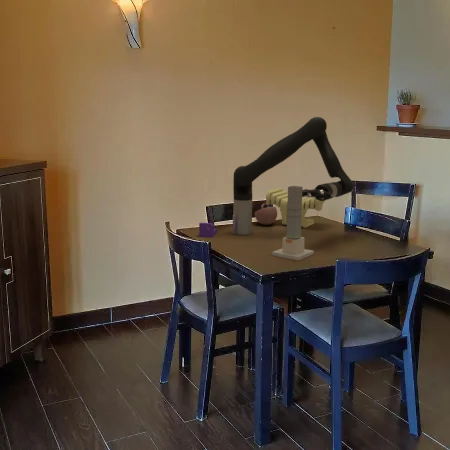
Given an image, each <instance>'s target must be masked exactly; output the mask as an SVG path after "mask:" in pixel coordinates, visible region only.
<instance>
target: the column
mask: <svg viewBox="0 0 450 450" xmlns="http://www.w3.org/2000/svg"><path fill="white" fill-rule="evenodd" d="M302 190H303V186H300V185H290V186H288V187H287V193H288V205H287V225H286V235H285V237H287V238H290V239H298V238H301V237H302V227H301V216H302V198H303V197H302Z"/></svg>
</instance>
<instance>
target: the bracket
mask: <svg viewBox="0 0 450 450" xmlns="http://www.w3.org/2000/svg"><path fill="white" fill-rule="evenodd" d="M198 227H199V228H198V231H199V232H198V236H199V237H200V238H214V237H215V235H216V234H217V233H218V228H215V225H214V224H213V223H212V222H199V223H198Z"/></svg>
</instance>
